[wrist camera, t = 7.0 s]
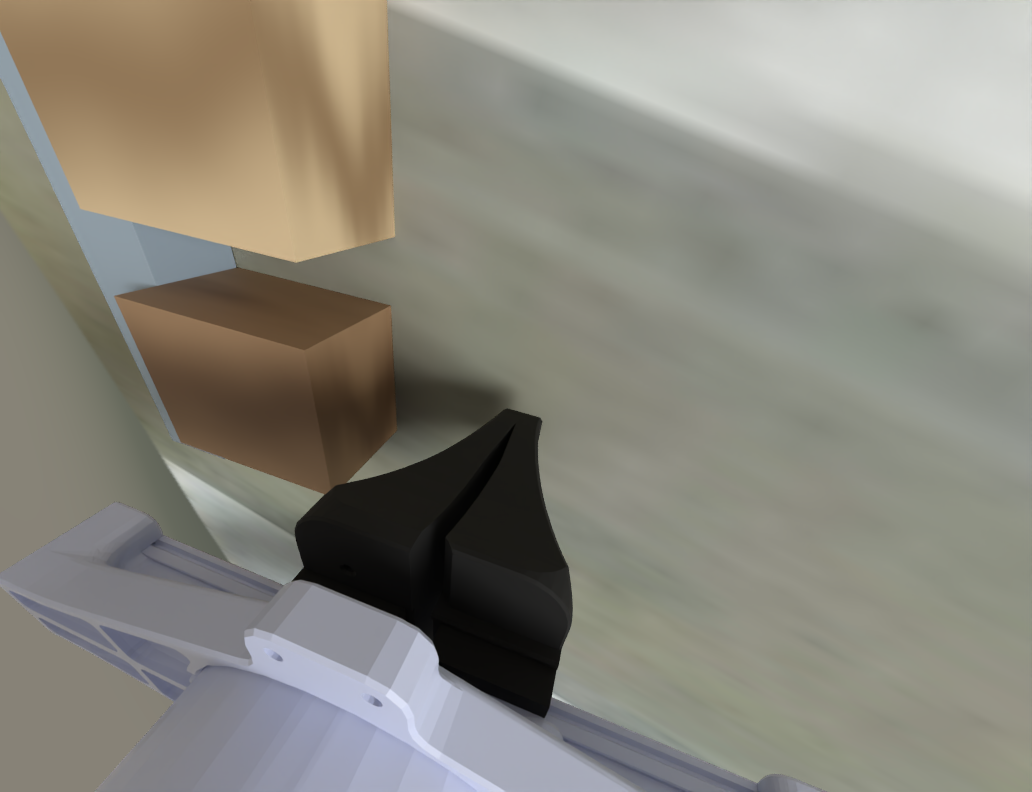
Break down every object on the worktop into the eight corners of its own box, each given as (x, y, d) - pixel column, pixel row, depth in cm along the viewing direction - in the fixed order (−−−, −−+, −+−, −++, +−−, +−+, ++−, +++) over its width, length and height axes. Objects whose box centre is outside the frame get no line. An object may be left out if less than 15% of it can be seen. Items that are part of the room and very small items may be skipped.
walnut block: (399, 428, 17) (332, 497, 14) (273, 388, 19) (181, 442, 15) (393, 304, 14) (304, 350, 10) (241, 266, 15) (113, 295, 12)
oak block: (397, 236, 13) (296, 262, 9) (230, 198, 14) (80, 209, 10) (389, -14, 10) (226, -132, 6) (171, -35, 11) (-79, -143, 7)
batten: (277, 422, 20) (224, 459, 17) (230, 407, 20) (172, 440, 18) (132, -123, 10) (-41, -222, 7) (48, -125, 10) (-141, -219, 8)
